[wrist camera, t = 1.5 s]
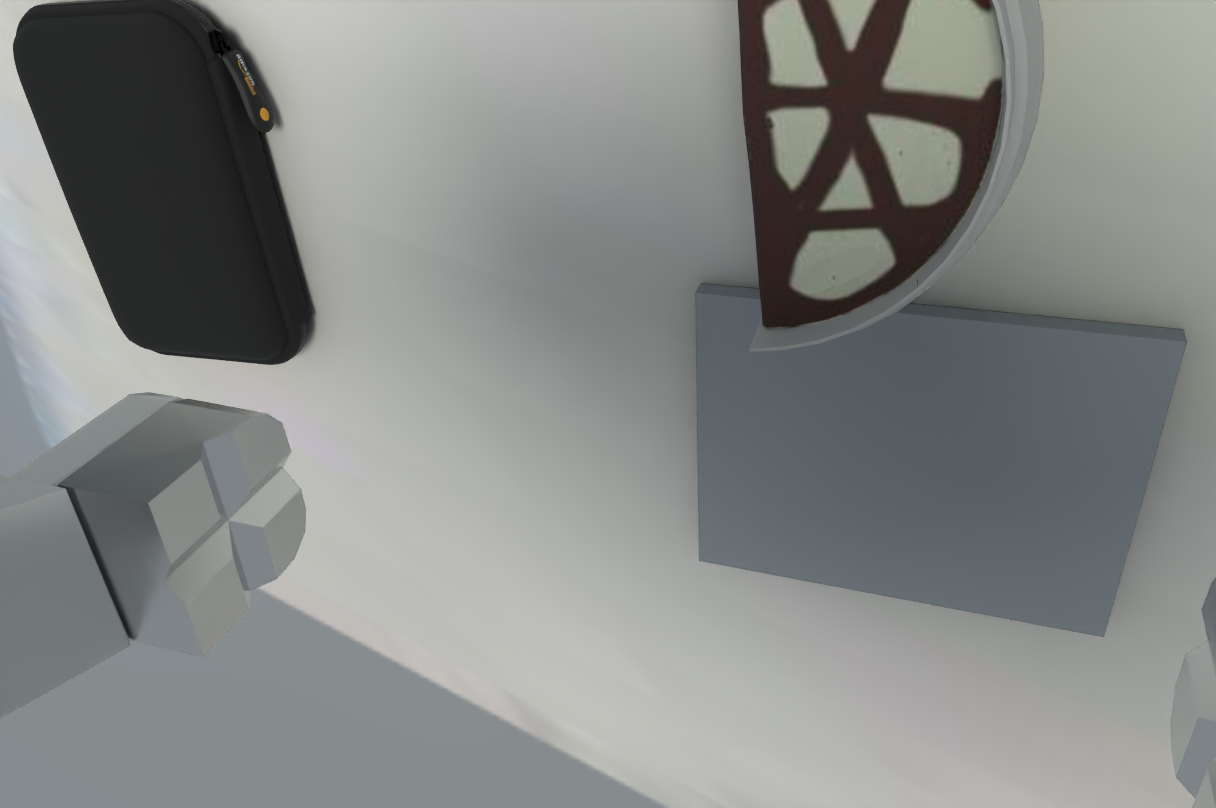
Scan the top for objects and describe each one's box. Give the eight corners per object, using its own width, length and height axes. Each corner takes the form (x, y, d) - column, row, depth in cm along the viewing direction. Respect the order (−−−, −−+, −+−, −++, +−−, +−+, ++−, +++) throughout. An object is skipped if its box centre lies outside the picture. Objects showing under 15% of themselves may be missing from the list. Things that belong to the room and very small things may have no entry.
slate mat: (1183, 329, 30) (1186, 341, 29) (1102, 621, 36) (1103, 637, 35) (701, 283, 35) (695, 292, 34) (704, 548, 41) (699, 560, 40)
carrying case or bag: (356, 351, 42) (259, -16, 35) (315, 386, 40) (202, 0, 33) (163, 334, 46) (37, -2, 39) (115, 365, 44) (-29, 14, 36)
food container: (1027, 218, 30) (1024, 382, 22) (820, 221, 32) (750, 371, 24) (1060, -271, 24) (1072, -288, 16) (802, -225, 26) (701, -220, 18)
